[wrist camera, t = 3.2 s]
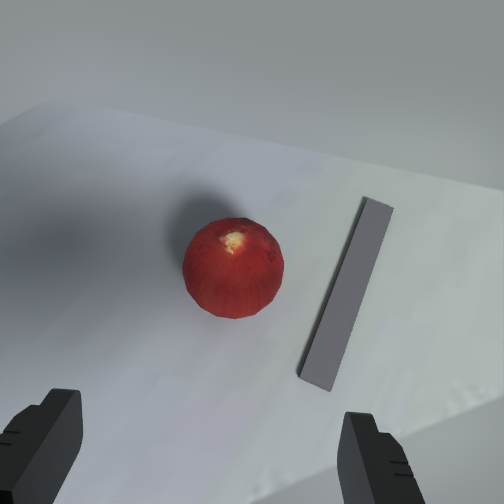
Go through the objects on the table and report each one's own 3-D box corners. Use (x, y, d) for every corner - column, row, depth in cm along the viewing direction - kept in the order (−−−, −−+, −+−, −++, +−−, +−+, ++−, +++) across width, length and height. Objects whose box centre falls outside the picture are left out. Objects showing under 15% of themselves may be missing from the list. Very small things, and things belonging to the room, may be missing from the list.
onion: (217, 236, 30) (214, 167, 23) (291, 274, 29) (312, 213, 22) (172, 306, 28) (152, 253, 20) (250, 349, 27) (259, 310, 20)
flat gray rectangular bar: (298, 377, 26) (299, 376, 26) (366, 200, 32) (367, 198, 32) (329, 391, 26) (331, 390, 26) (392, 210, 32) (394, 208, 31)
